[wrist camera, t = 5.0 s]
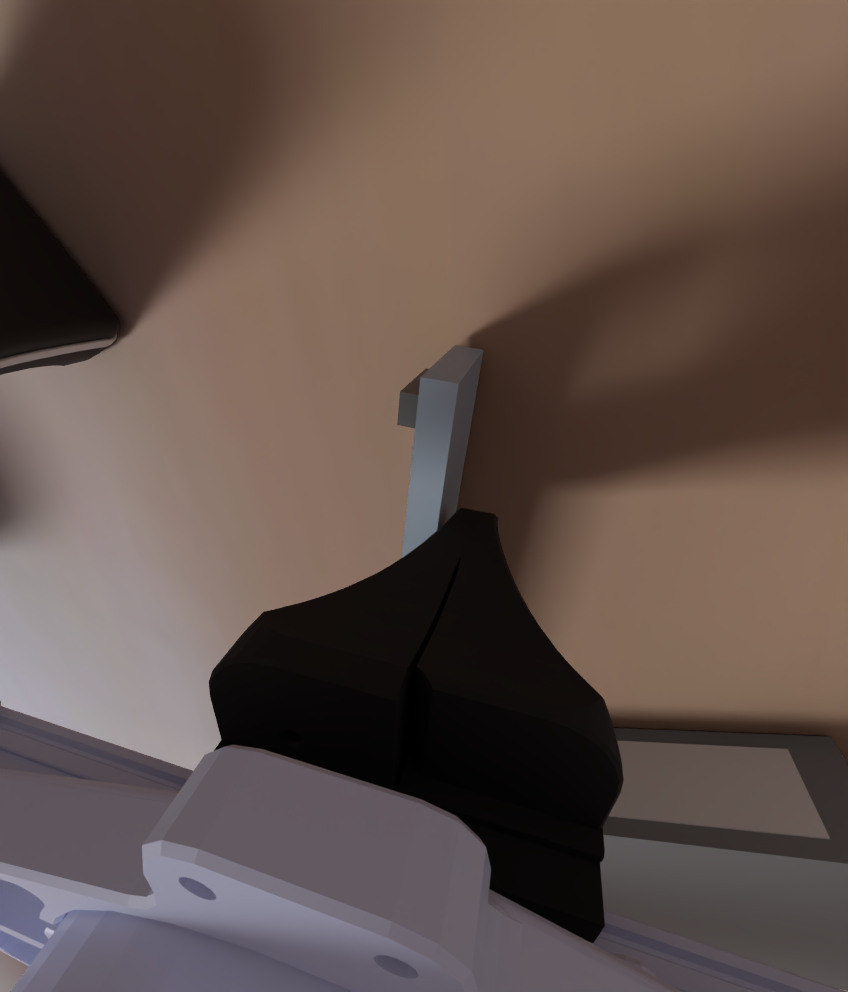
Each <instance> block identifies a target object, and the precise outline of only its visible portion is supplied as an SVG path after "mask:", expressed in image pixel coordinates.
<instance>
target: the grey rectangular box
mask: <svg viewBox="0 0 848 992" xmlns="http://www.w3.org/2000/svg"><path fill="white" fill-rule="evenodd" d="M614 732H615V735H616V739H617V743H618V747H619V751H620V755H621V761H622V768H623V778H624V781H623V785H622V789H621V793H620V795H619V797H618V799H617V801H616V803H615V804H614V806H613V808H612V810H611V812H610V814H609V816H608V818H607V820H606V821H605V823H604V825H603V836H604V848H605V853H604V859H603V861H602V862H600V869H601V882H602V895H603V908H604V910H606V911H609V912H612V913H615V914H618V915H621V916H624V917H627V918H630V919H633V920H636V921H639V922H642V923H645V924H648V925H650V926H653V927H656V928H659V929H662V930H665V931H668V932H671V933H674V934H677V935H680V936H683V937H686V938H689V939H692V940H695V941H698V942H701V943H704V944H707V945H710V946H713V947H716V948H719V949H722V950H724V951H727V952H730V953H733V954H736V955H739V956H742V957H745V958H748V959H751V960H754V961H757V962H760V963H763V964H766V965H769V966H772V967H775V968H778V969H781V970H784V971H787V972H790V973H793V974H796V975H799V976H801V977H804V978H807V979H810V980H813V981H816V982H819V983H822V984H825V985H828V986H831V987H834V988H837V989H842V990H847V991H848V764H847V763H846V761H845V759H844V758H843V756H842V754H841V752H840V751H839V749H838V747H837V745H836V744H835V742H834V740H833V739H832V737H827V736H802V735H778V734H753V733H728V732H703V731H678V730H653V729H629V728H614Z"/></svg>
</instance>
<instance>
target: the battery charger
mask: <svg viewBox="0 0 848 992" xmlns="http://www.w3.org/2000/svg"><path fill="white" fill-rule="evenodd" d="M119 329H120V322H119V319H118V318H117V317H116V315H115V314H114V313H113V311H112V310H111V308H110V307H109V306H108V304H107V303H106V302H105V300H104V299H103V298H102V296H101V295H100V294H99V292H98V291H97V290H96V288H95V287H94V286H93V284H92V283H91V282H90V281H89V279H88V278H87V277H86V276H85V274H84V273H83V272H82V271H81V269H80V268H79V267H78V265H77V264H76V263H75V262H74V260H73V259H72V258H71V257H70V255H69V254H68V253H67V252H66V250H65V249H64V248H63V247H62V245H61V244H60V243H59V241H58V240H57V239H56V238H55V236H54V235H53V234H52V233H51V232H50V230H49V229H48V228H47V227H46V226H45V224H44V223H43V222H42V221H41V219H40V218H39V217H38V216H37V215H36V213H35V212H34V211H33V210H32V209H31V207H30V206H29V205H28V204H27V203H26V201H25V200H24V199H23V198H22V197H21V195H20V194H19V193H18V192H17V191H16V189H15V188H14V187H13V186H12V185H11V183H10V182H9V181H8V180H7V179H6V178H5V176H4V175H3V174H2V173H1V172H0V375H1V374H5V373H10V372H14V371H19V370H23V369H28V368H34V367H42V366H52V365H61V366H65V365H69V364H73V363H77V362H81V361H85V360H88V359H90V358H92V357H93V356H95V355H97V354H99V353H100V352H101V351H102V350H103V349H104V347H107V346H109V345H111V344H112V343H113V342H114V341H115V340H116V338H117V332H118V331H119Z"/></svg>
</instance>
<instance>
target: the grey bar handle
mask: <svg viewBox="0 0 848 992" xmlns="http://www.w3.org/2000/svg"><path fill="white" fill-rule="evenodd" d="M483 351H484V350H483V349H477V348H471V347H464V346H458V345H455V346H454V347H453V348H452V349H450V350H449V351H448V352H447V353H446V354H445V355H444V356H443V357H442V358H441V359H440V360H439V361H437V362H436V363H435V364H434V365H433V366H432V367H431V368H430V369H425V370H424V371H423V372H422V373H420V374H419V375H418V376H417V377H416V378H415V379H414V380H413V381H412V382H410V383H409V384H408V385H407V386H406V387H405V388H404V389H403V390H401V391H400V400H399V412H398V424H397V425H401V426H406V427H411V428H415V434H414V444H413V454H412V463H411V473H410V483H409V492H408V502H407V512H406V521H405V531H404V541H403V550H402V558H403V557H404V556H406V555H407V554H408V553H410V552H411V551H412V550H414V549H415V548H416V547H418V546H419V545H420V544H422V543H423V542H424V541H425V540H427V539H428V538H429V537H430V536H431V535H432V534H434V533H435V532H436V531H437V530H438V529H439V528H440V527H441V526H443V525H444V524H445V523H446V522H447V521H448V520H449V519H450V518H451V517H452V516H453V515H454V514H455V512H456V510H457V504H458V498H459V492H460V486H461V480H462V475H463V469H464V463H465V457H466V451H467V445H468V439H469V433H470V428H471V422H472V416H473V410H474V404H475V398H476V392H477V386H478V381H479V375H480V369H481V363H482V357H483Z"/></svg>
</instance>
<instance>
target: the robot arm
mask: <svg viewBox="0 0 848 992" xmlns="http://www.w3.org/2000/svg"><path fill="white" fill-rule="evenodd" d="M497 520H498V518H497V517H496V516H495V514H491V513H486V512H481V511H475V510H470V509H464V508H461V509H459V510H457V511H456V512H455V514H454V515H453V516H452V517H451V518H450V519H449V520H448V521H447V522H446V523H445V524H444V525H443V526H441V527H440V528H439V529H438V530H437V531H436V532H435V533H434V534H432V535H431V536H430V537H429V538H428V539H427V540H425V541H424V542H423V543H422V544H420V545H419V546H418V547H416V548H415V549H414V550H412V551H411V552H410V553H408V554H407V555H406V556H404V557H403V558H401V559H400V560H398V561H397V562H395V563H394V564H392V565H390V566H389V567H387V568H385V569H384V570H382V571H380V572H378V573H377V574H375V575H372V576H370V577H368V578H366V579H364V580H362V581H359V582H357V583H355V584H353V585H351V586H349V587H346V588H344V589H341V590H338V591H336V592H333V593H330V594H327V595H324V596H321V597H318V598H316V599H312V600H309V601H306V602H302V603H298V604H294V605H290V606H286V607H282V608H279V609H275V610H270V611H266V612H263V613H262V614H261V615H260V616H259V617H258V618H257V619H256V620H255V621H254V622H253V623H252V624H251V625H250V626H249V627H248V628H247V630H246V631H245V632H244V633H243V634H242V635H241V637H240V638H239V639H238V640H237V641H236V643H235V644H234V645H233V646H232V647H231V649H230V650H229V651H228V652H227V654H226V655H225V656H224V657H223V659H222V660H221V661H220V662H219V663H218V665H217V666H216V667H215V668H214V670H213V671H212V674H211V677H210V680H209V688H210V697H211V701H212V705H213V709H214V712H215V716H216V720H217V724H218V728H219V731H220V735H221V739H222V740H221V741H220V743H219V744H218V746H217V747H216V749H215V750H214V751H213V752H211V753H208V754H206V755H204V757H203V758H202V760H201V761H200V763H199V764H198V765H197V767H196V768H195V770H194V771H192V770H189V769H186V768H183V767H180V766H177V765H174V764H171V763H168V762H165V761H162V760H159V759H156V758H153V757H150V756H147V755H144V754H141V753H138V752H135V751H132V750H129V749H127V748H124V747H121V746H118V745H115V744H112V743H109V742H106V741H103V740H100V739H97V738H94V737H91V736H88V735H85V734H82V733H79V732H76V731H73V730H70V729H67V728H64V727H61V726H58V725H55V724H52V723H50V722H47V721H44V720H41V719H38V718H35V717H32V716H29V715H26V714H23V713H20V712H17V711H14V710H11V709H8V708H5V707H2V706H1V701H0V951H1V952H3V953H5V954H7V955H9V956H11V957H13V958H14V959H16V960H18V961H20V962H22V963H24V964H26V965H27V966H29V967H28V968H27V970H26V971H25V972H24V974H23V975H22V976H21V978H20V979H19V980H18V982H17V983H16V984H15V986H14V987H13V989H12V990H11V991H10V992H846V991H843V990H840V989H837V988H834V987H831V986H828V985H825V984H822V983H819V982H816V981H813V980H810V979H807V978H804V977H801V976H799V975H796V974H793V973H790V972H787V971H784V970H781V969H778V968H775V967H772V966H769V965H766V964H763V963H760V962H757V961H754V960H751V959H748V958H745V957H742V956H739V955H736V954H733V953H730V952H727V951H724V950H722V949H719V948H716V947H713V946H710V945H707V944H704V943H701V942H698V941H695V940H692V939H689V938H686V937H683V936H680V935H677V934H674V933H671V932H668V931H665V930H662V929H659V928H656V927H653V926H650V925H648V924H645V923H642V922H639V921H636V920H633V919H630V918H627V917H624V916H621V915H618V914H615V913H612V912H609V911H606V910H604V908H603V895H602V882H601V869H600V862H602V861H603V859H604V853H605V848H604V836H603V825H604V823H605V821H606V820H607V818H608V816H609V814H610V812H611V810H612V808H613V806H614V804H615V803H616V801H617V799H618V797H619V795H620V793H621V789H622V785H623V781H624V778H623V768H622V761H621V755H620V751H619V747H618V743H617V739H616V735H615V732H614V728H613V725H612V721H611V718H610V715H609V712H608V709H607V707H606V704H605V701H604V699H603V698H602V696H601V695H600V694H599V693H598V692H597V691H596V690H595V689H593V688H592V687H591V686H590V685H589V684H588V683H587V682H586V681H585V680H584V679H583V678H582V677H581V676H580V675H579V674H578V673H577V672H576V671H575V670H574V669H573V668H572V667H571V665H570V664H569V663H568V662H567V661H566V660H565V659H564V658H563V656H562V655H561V654H560V653H559V652H558V651H557V649H556V648H555V647H554V645H553V644H552V643H551V641H550V640H549V638H548V637H547V636H546V634H545V633H544V632H543V630H542V629H541V628H540V626H539V625H538V623H537V622H536V620H535V619H534V617H533V615H532V614H531V612H530V610H529V609H528V607H527V605H526V603H525V602H524V600H523V598H522V596H521V594H520V592H519V590H518V588H517V586H516V584H515V582H514V579H513V577H512V575H511V572H510V570H509V567H508V565H507V562H506V559H505V556H504V553H503V550H502V546H501V543H500V538H499V534H498V527H497Z"/></svg>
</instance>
